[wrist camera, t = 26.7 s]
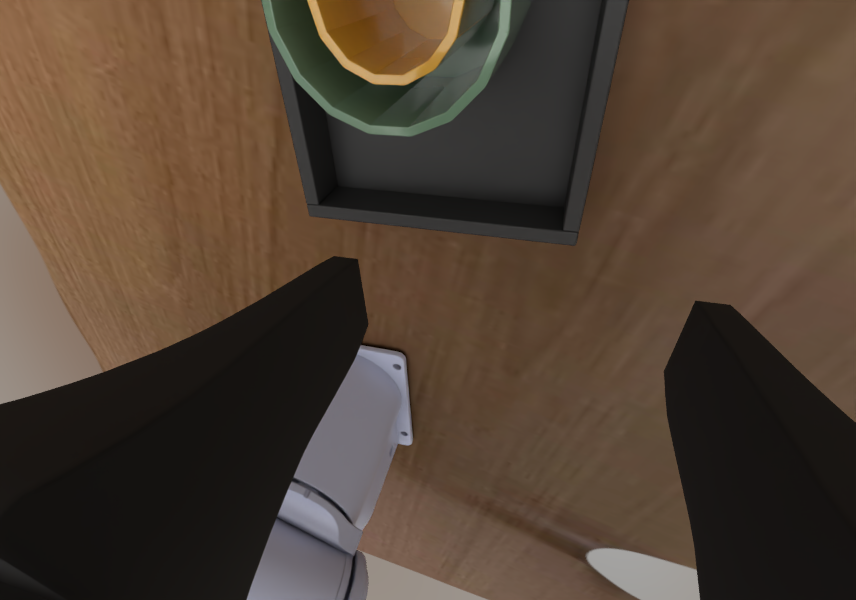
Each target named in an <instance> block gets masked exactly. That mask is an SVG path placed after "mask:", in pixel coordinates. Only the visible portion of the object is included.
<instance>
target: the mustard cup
mask: <svg viewBox="0 0 856 600" xmlns="http://www.w3.org/2000/svg"><path fill="white" fill-rule="evenodd" d="M307 2H308V5H309V8H310V10H311V13H312V16H313V19H314V22H315V25H316V28H317V31H318V34H319V36H320V38H321V39H322V41H323V42H324V43H325V45H326V46H327V47H328V48H329V50H330V51H331V52H332V53H333V55H334V56H335V57H336V59H337V60H338V61H339V62H340V64H341V65H342V66H343V67H344V68H345V69H347V70H349V71H351V72H352V73H354V74H356V75H358V76H360V77H361V78H363V79H365V80H367V81H368V82H370V83H372V84H375V85H401V86H405V85H408V84H410V83H412V82H413V81H415V80H417V79H419V78H421V77H423V76H425V75H427V74H429V73H430V72H432V71H434V70H435V69H436V68H438V67H439V66H440V65H441V64H442V63H443V62H444V61H446V60H447V59H448V58H449V57H450V56H451V55H452V54H453V53H455V52H456V51H457V50H458V49H459V48H460V47H461V46H463V45H464V44H465V43H466V42H467V41H468V40H469V39H471V38H472V37H473V36H474V35H475V34H476V32H477V31H478V30H479V28H480V27H481V26H482V25H483V23H484V22H485V21H486V19H487V17H488V16H489V14H490V13H491V11H492V8H493V5H494V3H495V0H307Z"/></svg>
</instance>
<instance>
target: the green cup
mask: <svg viewBox="0 0 856 600" xmlns="http://www.w3.org/2000/svg"><path fill="white" fill-rule="evenodd" d="M531 3H532V0H495V3H494V5H493V8H492V11H491V13H490V14H489V16H488V17H487V19H486V21H485V22H484V23H483V25H482V26H481V27H480V28H479V30H478V31H477V32H476V34H475V35H474V36H473V37H472V38H471V39H469V40H468V41H467V42H466V43H465V44H464V45H463V46H461V47H460V48H459V49H458V50H457V51H456V52H455V53H453V54H452V55H451V56H450V57H449V58H448V59H447V60H446V61H444V62H443V63H442V64H441V65H440V66H439V67H438V68H436V69H435V70H434V71H432V72H430V73H429V74H427V75H425V76H423V77H421V78H419V79H417V80H415V81H413V82H412V83H410V84H408V85H405V86H401V85H375V84H372V83H370V82H368V81H367V80H365V79H363V78H361V77H360V76H358V75H356V74H354V73H352V72H351V71H349V70H347V69H345V68H344V67H343V66H342V65H341V64H340V62H339V61H338V60H337V59H336V57H335V56H334V55H333V53H332V52H331V51H330V50H329V48H328V47H327V46H326V45H325V43H324V42H323V41H322V39H321V38H320V36H319V34H318V31H317V28H316V25H315V22H314V19H313V16H312V13H311V10H310V8H309V5H308V2H307V0H262V4H263V8H264V13H265V17H266V22H267V26H268V30H269V33H270V35H271V37H272V38H273V40H274V42H275V44H276V46H277V48H278V50H279V52H280V53H281V55H282V57H283V59H284V61H285V63H286V65H287V66H288V68H289V70H290V72H291V74H292V76H293V78H294V79H295V81H296V82H297V83H298V84H299V85H300V86H301V87H302V88H303V89H304V90H305V91H306V92H307V93H308V94H309V95H310V96H311V97H312V98H313V99H314V100H315V101H316V102H317V103H318V104H319V105H320V106H321V107H322V108H323V109H324V110H325V111H326V112H327V113H328V114H330V115H331V116H333V117H335V118H337V119H339V120H341V121H343V122H345V123H347V124H349V125H351V126H353V127H355V128H357V129H360V130H362V131H364V132H366V133H368V134H374V135H390V136H405V137H411V136H415V135H417V134H420V133H422V132H425V131H428V130H430V129H433V128H435V127H438V126H441V125H443V124H446V123H448V122H451V121H452V120H453V119H454V118H455V117H456V116H457V115H458V114H459V113H460V112H461V111H462V110H463V109H464V108H465V107H466V106H467V105H468V104H469V103H470V102H471V101H472V100H473V99H474V98H475V97H476V96H477V95H478V94H479V93H480V92H481V91H482V90H483V89H484V88H485V87H486V86H487V84H488V83H489V81H490V79H491V78H492V76H493V75H494V73H495V72H496V70H497V69H498V67H499V66H500V64H501V63H502V61H503V60H504V58H505V57H506V55H507V54H508V52H509V50H510V49H511V47H512V46H513V44H514V42H515V40H516V38H517V36H518V34H519V31H520V29H521V27H522V25H523V23H524V21H525V18H526V16H527V14H528V11H529V9H530V7H531Z"/></svg>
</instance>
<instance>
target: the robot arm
mask: <svg viewBox="0 0 856 600" xmlns="http://www.w3.org/2000/svg"><path fill="white" fill-rule="evenodd" d="M367 327H368V318H367V312H366V306H365V300H364V294H363V288H362V282H361V276H360V270H359V264H358V259H353V258H345V257H336V256H334V257H332V258H330V259H328V260H326V261H324V262H322V263H320V264H319V265H317V266H315V267H314V268H312V269H310V270H309V271H307V272H305V273H304V274H302V275H300V276H299V277H297V278H296V279H294V280H292V281H291V282H289V283H287V284H286V285H284V286H282V287H281V288H279V289H277V290H276V291H274V292H272V293H271V294H269V295H267V296H266V297H264V298H262V299H261V300H259V301H257V302H255V303H254V304H252V305H250V306H248V307H246V308H244V309H243V310H241V311H239V312H237V313H235V314H234V315H232V316H230V317H228V318H226V319H225V320H223V321H221V322H219V323H217V324H215V325H213V326H211V327H209V328H207V329H205V330H203V331H201V332H199V333H197V334H195V335H193V336H191V337H189V338H186V339H184V340H182V341H180V342H178V343H175V344H173V345H171V346H169V347H167V348H164V349H162V350H160V351H157V352H155V353H152V354H150V355H147V356H144V357H142V358H139V359H137V360H134V361H132V362H129V363H126V364H124V365H121V366H119V367H116V368H114V369H111V370H108V371H106V372H103V373H100V374H97V375H94V376H91V377H88V378H85V379H83V380H80V381H77V382H74V383H71V384H68V385H64V386H61V387H58V388H55V389H52V390H48V391H45V392H42V393H39V394H35V395H32V396H29V397H25V398H22V399H18V400H15V401H11V402H7V403H3V404H0V600H366V597H367V591H368V572H367V567H366V559H365V556H364V555H363V553H362V552H360V551H358V550H357V547H358V544H359V542H360V539H361V536H362V533H363V531H362V530H363V528H364V527H365V526H366V525H367V523H368V521H369V520H370V518H371V516H372V513H373V511H374V508H375V505H376V502H377V500H378V497H379V494H380V491H381V489H382V486H383V483H384V480H385V478H386V475H387V472H388V469H389V467H390V464H391V461H392V458H393V456H394V453H395V450H396V448H397V445H398V444H402V445H411V444H412V441H413V433H412V421H411V410H410V399H409V387H408V376H407V365H406V357H405V356H404V354H402V353H401V352H398V351H392V350H387V349H381V348H375V347H370V346H364V345H361V343H362V340H363V338H364V335H365V332H366V329H367ZM397 364H398V365H397ZM664 379H665V396H666V408H667V417H668V422H669V427H670V432H671V437H672V442H673V446H674V451H675V456H676V460H677V465H678V469H679V474H680V478H681V483H682V487H683V492H684V496H685V501H686V505H687V510H688V514H689V519H690V524H691V530H692V536H693V541H694V548H695V556H696V566H697V575H698V584H699V593H700V600H856V423H855V422H854V421H853V420H852V419H851V418H850V417H848V416H847V415H846V414H845V413H844V412H843V411H842V410H840V409H839V408H838V407H837V406H836V405H835V404H834V403H833V402H832V401H830V400H829V399H828V398H827V397H826V396H825V395H824V394H823V393H822V392H821V391H820V390H818V389H817V388H816V387H815V386H814V385H813V384H812V383H811V382H810V381H809V380H808V379H807V378H806V377H805V376H804V375H802V374H801V373H800V372H799V371H798V370H797V369H796V368H795V367H794V366H793V365H792V364H791V363H790V362H789V361H788V360H787V359H786V358H785V357H784V356H783V355H782V354H781V353H780V352H779V351H778V350H777V349H776V348H775V347H774V346H773V345H772V344H771V343H770V342H769V341H768V340H766V339H765V338H764V337H763V336H762V335H761V334H760V333H759V332H758V331H757V330H756V329H755V328H754V327H753V326H752V325H751V324H750V323H749V322H748V321H747V320H746V319H745V318H744V317H743V316H742V315H741V314H740V313H739V312H738V311H736V310H735V309H734V308H733V307H732V306H731V305H726V304H718V303H710V302H702V301H695V303H694V305H693V308H692V310H691V312H690V314H689V317H688V319H687V321H686V323H685V325H684V328H683V330H682V332H681V334H680V337H679V339H678V341H677V343H676V346H675V348H674V350H673V352H672V354H671V357H670V359H669V361H668V363H667V366H666V368H665V370H664Z"/></svg>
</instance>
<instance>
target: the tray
mask: <svg viewBox="0 0 856 600" xmlns="http://www.w3.org/2000/svg"><path fill="white" fill-rule="evenodd" d="M261 1H262V0H261ZM628 3H629V0H532V3H531V7H530V9H529V11H528V14H527V16H526V18H525V21H524V23H523V25H522V27H521V29H520V31H519V34H518V36H517V38H516V40H515V42H514V44H513V46H512V47H511V49H510V50H509V52H508V54H507V55H506V57H505V58H504V60H503V61H502V63H501V64H500V66H499V67H498V69H497V70H496V72H495V73H494V75H493V76H492V78H491V79H490V81H489V83H488V84H487V86H486V87H485V88H484V89H483V90H482V91H481V92H480V93H479V94H478V95H477V96H476V97H475V98H474V99H473V100H472V101H471V102H470V103H469V104H468V105H467V106H466V107H465V108H464V109H463V110H462V111H461V112H460V113H459V114H458V115H457V116H456V117H455V118H454V119H453V120H452V121H451V122H448V123H446V124H443V125H441V126H438V127H435V128H433V129H430V130H428V131H425V132H422V133H420V134H417V135H415V136H411V137H405V136H390V135H374V134H368V133H366V132H364V131H362V130H360V129H357V128H355V127H353V126H351V125H349V124H347V123H345V122H343V121H341V120H339V119H337V118H335V117H333V116H331V115H330V114H328V113H327V112H326V111H325V110H324V109H323V108H322V107H321V106H320V105H319V104H318V103H317V102H316V101H315V100H314V99H313V98H312V97H311V96H310V95H309V94H308V93H307V92H306V91H305V90H304V89H303V88H302V87H301V86H300V85H299V84H298V83H297V82H296V81H295V79H294V78H293V76H292V74H291V72H290V70H289V68H288V66H287V65H286V63H285V61H284V59H283V57H282V55H281V53H280V52H279V50H278V48H277V46H276V44H275V42H274V40H273V38H272V37H271V35H270V33H269V30H268V33H269V37H270V42H271V46H272V51H273V55H274V60H275V64H276V68H277V73H278V77H279V82H280V86H281V91H282V95H283V100H284V104H285V109H286V113H287V118H288V122H289V127H290V131H291V136H292V140H293V145H294V149H295V153H296V158H297V162H298V167H299V171H300V176H301V180H302V185H303V189H304V194H305V198H306V203H307V207H308V212H309V215H310V216H312V217H321V218H330V219H339V220H348V221H357V222H366V223H375V224H384V225H393V226H402V227H411V228H420V229H429V230H438V231H447V232H456V233H465V234H474V235H483V236H492V237H501V238H509V239H518V240H527V241H536V242H545V243H554V244H563V245H572V246H575V245H576V243H577V238H578V234H579V229H580V224H581V220H582V215H583V211H584V206H585V201H586V197H587V192H588V187H589V183H590V178H591V174H592V169H593V164H594V160H595V155H596V151H597V146H598V141H599V137H600V132H601V127H602V123H603V118H604V114H605V109H606V104H607V100H608V95H609V90H610V86H611V81H612V77H613V72H614V67H615V63H616V58H617V54H618V49H619V44H620V40H621V35H622V30H623V26H624V21H625V17H626V12H627V7H628ZM262 6H263V4H262ZM263 10H264V8H263ZM264 15H265V13H264ZM265 19H266V17H265ZM266 24H267V22H266ZM267 28H268V26H267Z"/></svg>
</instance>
